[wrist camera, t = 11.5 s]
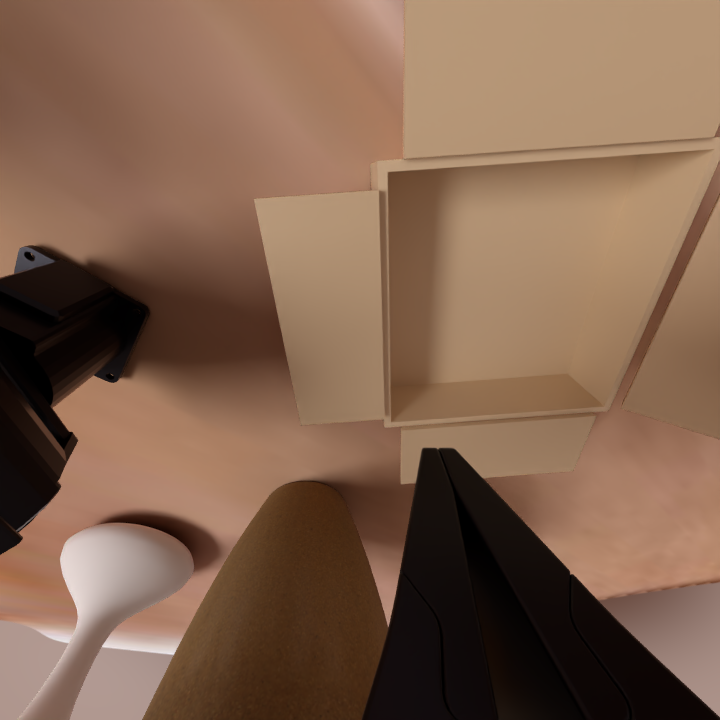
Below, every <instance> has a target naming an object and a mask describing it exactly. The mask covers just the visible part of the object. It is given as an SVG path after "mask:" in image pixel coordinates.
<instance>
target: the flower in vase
mask: <svg viewBox="0 0 720 720" xmlns="http://www.w3.org/2000/svg"><path fill="white" fill-rule="evenodd" d="M60 562H61V568H62V573H63V577H64V579H65V582H66V584H67V587H68V589H69V591H70V593H71V595H72V598H73V600H74V602H75V605H76V608H77V613H78V621H77V626H76V629H75V631H74V634H73V636H72V638H71V640H70V642H69V644H68V646H67V648H66V650H65V651H64V653H63V655H62V657H61V658H60V660H59V661H58V663H57V665H56V666H55V668H54V670H53V671H52V673H51V674H50V676H49V677H48V679H47V680H46V682H45V683H44V684H43V686H42V688H41V689H40V690H39V692H38V693H37V695H36V696H35V697H34V699H33V700H32V701H31V703H30V704H29V705H28V706H27V708H26V709H25V710H24V712H23V713H22V714H21V715H20V717H19V718H18V719H17V720H69V719H70V716H71V713H72V711H73V707H74V705H75V702H76V699H77V697H78V694H79V692H80V690H81V687H82V685H83V682H84V680H85V678H86V676H87V674H88V672H89V670H90V668H91V666H92V663H93V661H94V659H95V658H96V656H97V654H98V652H99V651H100V649H101V647H102V645H103V644H104V642H105V641H106V639H107V638H108V636H109V635H110V633H111V632H112V631H113V630H114V629H115V628H116V627H117V626H118V625H119V624H120V623H122V622H123V621H125V620H126V619H127V618H129V617H131V616H133V615H135V614H137V613H138V612H141V611H143V610H145V609H147V608H149V607H151V606H153V605H155V604H156V603H158V602H160V601H162V600H164V599H166V598H168V597H169V596H171V595H172V594H174V593H175V592H177V591H178V590H180V589H181V588H182V587H183V586H184V585H185V584H186V583H187V581H188V580H189V579H190V577H191V576H192V574H193V572H194V563H193V558H192V555H191V553H190V551H189V550H188V548H187V547H186V546H185V545H184V544H183V543H182V542H180V541H179V540H178V539H176V538H174V537H173V536H171V535H169V534H167V533H165V532H162V531H160V530H157V529H154V528H151V527H147V526H143V525H137V524H130V523H105V524H99V525H94V526H91V527H88V528H86V529H84V530H82V531H80V532H78V533H76V534H75V535H73V536H72V537H70V538H69V539H68V540H67V541H66V543H65V545H64V547H63V550H62V554H61V558H60Z"/></svg>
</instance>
